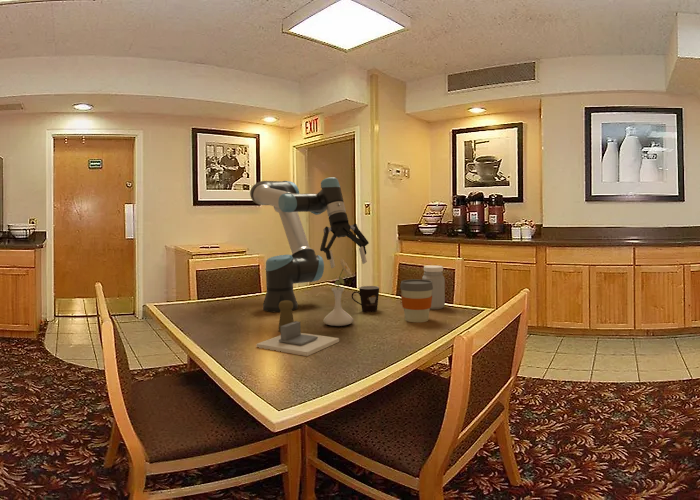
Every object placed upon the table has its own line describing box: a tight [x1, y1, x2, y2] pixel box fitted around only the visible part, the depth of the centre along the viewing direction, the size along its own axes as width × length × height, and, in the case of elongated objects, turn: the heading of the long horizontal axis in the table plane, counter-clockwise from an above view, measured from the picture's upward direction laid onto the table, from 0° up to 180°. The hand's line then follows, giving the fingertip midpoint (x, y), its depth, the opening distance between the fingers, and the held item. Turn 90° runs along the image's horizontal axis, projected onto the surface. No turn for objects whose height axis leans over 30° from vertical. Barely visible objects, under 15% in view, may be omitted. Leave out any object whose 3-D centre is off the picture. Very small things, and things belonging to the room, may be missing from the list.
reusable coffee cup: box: [400, 278, 433, 323], centre depth 195 cm, size 13×13×15 cm
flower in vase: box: [323, 258, 354, 327], centre depth 190 cm, size 13×11×25 cm
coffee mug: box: [351, 285, 380, 313], centre depth 214 cm, size 12×9×10 cm
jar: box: [421, 264, 446, 310], centre depth 218 cm, size 10×10×18 cm
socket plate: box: [255, 332, 340, 357], centre depth 164 cm, size 20×18×1 cm
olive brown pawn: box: [278, 300, 295, 333], centre depth 182 cm, size 6×6×11 cm
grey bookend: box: [279, 320, 318, 345], centre depth 163 cm, size 9×9×5 cm
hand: (349, 265), depth 197 cm, fingers open, 13 cm apart
